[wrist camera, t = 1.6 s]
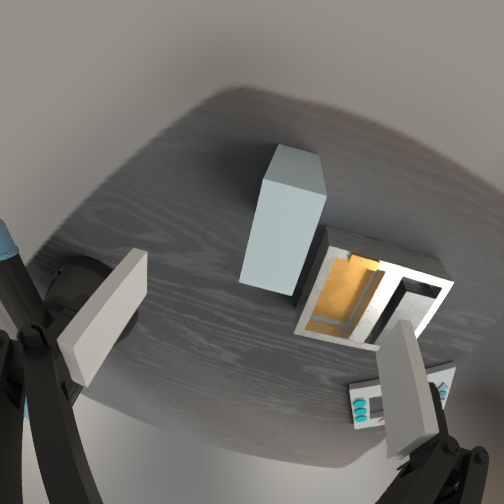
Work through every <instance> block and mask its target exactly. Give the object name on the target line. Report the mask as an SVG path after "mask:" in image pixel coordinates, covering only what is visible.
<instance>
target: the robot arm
mask: <svg viewBox="0 0 504 504" xmlns="http://www.w3.org/2000/svg"><path fill="white" fill-rule="evenodd" d="M18 252H19V249H18V247H17V246H16V245H15V244H14V242H13V240H12V238H11V235H10V233H9V231H8V229H7V227H6V225H5V223H4V222H3V221H2V220H1V219H0V504H23V497H22V473H21V472H22V469H21V468H22V466H21V465H22V461H21V459H22V457H21V456H22V432H23V419H24V417H26V418H28V419H29V420H30V427H31V432H32V438H33V442H34V448H35V452H36V456H37V461H38V465H39V469H40V473H41V476H42V480H43V483H44V487H45V490H46V493H47V496H48V500H49V503H50V504H103V502H102V500H101V497H100V494H99V492H98V489H97V487H96V484H95V481H94V479H93V477H92V473H91V471H90V468H89V465H88V462H87V459H86V456H85V452H84V450H83V446H82V443H81V439H80V436H79V432H78V429H77V425H76V421H75V417H74V413H73V409H72V406H73V404H74V403H75V401H76V399H77V397H78V395H79V394H80V392H81V390H82V388H83V387H86V388H88V386H89V384H90V383H91V381H92V379H93V377H94V376H95V374H96V372H97V371H98V369H99V368H100V366H101V364H102V363H103V361H104V359H105V358H106V356H107V354H108V353H109V351H110V350H111V348H112V347H114V346H115V345H116V344H118V343H119V342H120V341H121V340H123V339H124V338H126V337H127V336H128V335H129V333H130V332H131V330H132V329H133V327H134V325H135V324H136V321H137V316H138V313H137V308H138V306H139V305H140V303H141V302H142V300H143V299H144V297H145V296H146V294H147V252H146V251H143V250H140V249H136V248H133V249H132V250H131V251H130V253H129V254H128V255H127V256H126V257H125V258H124V259H123V260H122V261H121V263H120V264H119V265H118V266H117V267H116V268H115V269H114V270H113V271H112V270H111V269H109V268H108V267H107V266H105V265H104V264H102V263H100V262H98V261H96V260H94V259H91V258H88V257H82V256H77V257H72V258H70V259H68V260H67V261H66V262H65V263H64V264H63V265H61V266H60V267H59V268H58V270H57V271H56V273H55V275H54V278H53V280H52V282H51V284H50V286H49V288H48V291H47V293H46V295H45V298H44V300H43V301H42V299H41V297H40V295H39V293H38V291H37V289H36V288H35V286H34V284H33V282H32V280H31V278H30V276H29V274H28V272H27V270H26V268H25V266H24V264H23V262H22V259H21V257H20V255H19V253H18ZM376 358H377V364H378V371H379V378H380V385H381V393H382V401H383V410H384V420H385V430H386V442H387V456H388V459H390V460H400V459H403V458H404V457H406V456H407V455H409V456H410V460H409V461H407V462H406V463H404V464H403V465H401V466H400V467H398V468H397V470H400V469H401V468H402V469H401V471H400V472H399V474H398V475H397V476H396V478H395V479H394V480H393V482H392V483H391V484H390V486H389V487H388V488H387V490H386V491H385V492H384V493H383V495H382V496H381V497H380V499H379V500H378V501H377V502H376V503H375V504H481V501H482V496H483V492H484V487H485V482H486V477H487V471H488V465H489V455H488V453H487V451H486V449H484V448H483V447H481V446H477V447H475V448H473V449H472V450H466V449H464V448H460V447H459V444H458V442H457V441H456V440H455V438H453V437H452V436H449V434H448V429H447V424H446V419H445V415H444V410H443V409H442V408H443V406H442V402H441V398H440V394H439V390H438V389H437V387H436V386H435V384H434V382H428V379H427V375H426V371H425V367H424V364H423V360H422V356H421V353H420V349H419V346H418V343H417V339H416V336H415V333H414V329H413V326H412V323H411V321H407V320H403V319H399V320H398V321H397V323H396V324H395V326H394V327H393V329H392V330H391V332H390V333H389V335H388V336H387V338H386V339H385V341H384V342H383V344H382V345H381V346H380V348H379V349H378V351H377V352H376Z"/></svg>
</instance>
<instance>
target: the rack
mask: <svg viewBox="0 0 504 504" xmlns="http://www.w3.org/2000/svg"><path fill="white" fill-rule="evenodd" d="M453 283H454V282H453V280H452V279H451V277H450V275H449V273H448V272H447V270H446V268H445V267H444V265H443V264H442V262H441V261H440V260H437V259H434V258H431V257H428V256H425V255H422V254H419V253H416V252H413V251H410V250H407V249H404V248H401V247H397V246H394V245H391V244H388V243H385V242H381V241H378V240H375V239H372V238H368V237H365V236H362V235H359V234H355V233H352V232H348V231H345V230H342V229H338V228H335V227H331V226H328V225H327V226H326V229H325V232H324V235H323V238H322V240H321V243H320V246H319V249H318V251H317V254H316V257H315V259H314V262H313V265H312V267H311V270H310V272H309V275H308V278H307V280H306V283H305V285H304V288H303V291H302V293H301V296H300V298H299V301H298V303H297V306H296V308H295V320H294V332H293V334H297V335H302V336H306V337H310V338H315V339H319V340H324V341H328V342H333V343H338V344H342V345H347V346H352V347H357V348H362V349H367V350H372V351H378V349H379V348H380V346H381V345H382V344H383V342H384V341H385V339H386V338H387V336H388V335H389V333H390V332H391V330H392V329H393V327H394V326H395V324H396V323H397V321H398V320H399V319H403V320H407V321H411V323H412V326H413V329H414V333H415V336H416V339H417V338H418V336H419V335H420V334H421V332H422V331H423V329H424V328H425V326H426V325H427V324H428V322H429V321H430V319H431V318H432V316H433V315H434V313H435V312H436V310H437V309H438V307H439V306H440V304H441V303H442V301H443V299H444V298H445V296H446V295H447V293H448V291H449V290H450V288H451V286H452V285H453Z"/></svg>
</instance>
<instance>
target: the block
mask: <svg viewBox="0 0 504 504" xmlns="http://www.w3.org/2000/svg"><path fill="white" fill-rule="evenodd" d="M326 197H327V194H326V189H325V184H324V179H323V174H322V169H321V164H320V159H319V155H317V154H314V153H311V152H307V151H303V150H300V149H296V148H292V147H289V146H285V145H281V144H279V145H278V147H277V149H276V151H275V154H274V156H273V158H272V160H271V163H270V165H269V167H268V169H267V172H266V174H265V176H264V178H263V182H262V186H261V191H260V195H259V199H258V203H257V208H256V212H255V216H254V220H253V224H252V229H251V233H250V237H249V241H248V246H247V250H246V254H245V258H244V263H243V267H242V271H241V275H240V280H239V282H240V283H244V284H248V285H252V286H255V287H259V288H263V289H267V290H270V291H274V292H278V293H282V294H286V295H290V296H292V294H293V291H294V289H295V286H296V283H297V281H298V278H299V275H300V272H301V270H302V267H303V264H304V261H305V259H306V256H307V253H308V250H309V247H310V244H311V242H312V239H313V236H314V233H315V230H316V227H317V224H318V221H319V218H320V215H321V212H322V209H323V206H324V203H325V200H326Z"/></svg>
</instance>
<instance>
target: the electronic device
mask: <svg viewBox="0 0 504 504" xmlns="http://www.w3.org/2000/svg"><path fill="white" fill-rule="evenodd" d="M455 368H456V366H455V363H454V362H450V363H447V364H443V365H439V366H435V367H432V368H428V369H425V371H426V375H427V379H428V382H434V384H435V386H436V387H437V389H438V390H439V394H440V398H441V402H442V406H443V408H442V409H444V406H445V403H446V399H447V396H448V393H449V390H450V386H451V383H452V379H453V376H454V372H455ZM349 391H350V398H351V405H352V412H353V419H354V426H355V429H359V428H366V427H372V426H378V425H385V420H384V411H381V412H375V413H370V407H369V398H371V397H377V396H382V393H381V385H380V379H376V380H371V381H365V382H359V383H353V384H349Z"/></svg>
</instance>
